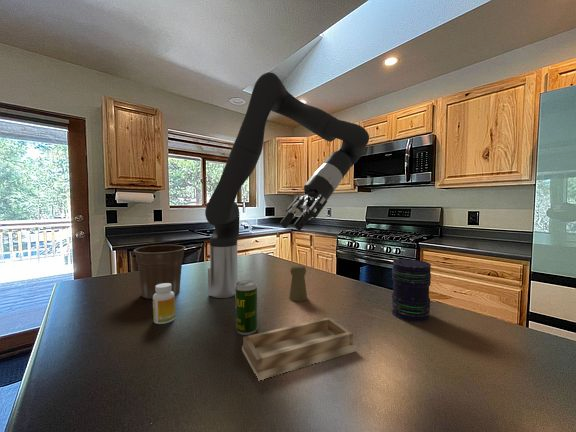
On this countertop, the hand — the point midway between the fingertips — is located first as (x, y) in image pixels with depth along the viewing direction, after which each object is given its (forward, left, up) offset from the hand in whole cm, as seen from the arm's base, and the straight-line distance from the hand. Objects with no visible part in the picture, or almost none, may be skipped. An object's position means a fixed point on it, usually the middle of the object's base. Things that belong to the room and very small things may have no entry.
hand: (288, 227), depth 70 cm
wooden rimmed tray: (+4, -14, -25) cm, 29 cm away
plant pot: (-48, +14, -26) cm, 56 cm away
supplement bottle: (-34, -5, -26) cm, 43 cm away
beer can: (-10, -7, -26) cm, 28 cm away
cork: (0, +17, -26) cm, 31 cm away
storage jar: (+33, +9, -26) cm, 43 cm away
